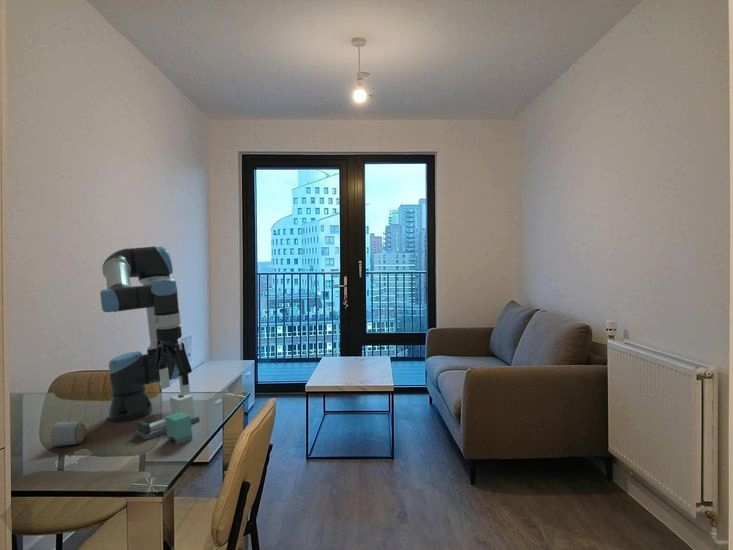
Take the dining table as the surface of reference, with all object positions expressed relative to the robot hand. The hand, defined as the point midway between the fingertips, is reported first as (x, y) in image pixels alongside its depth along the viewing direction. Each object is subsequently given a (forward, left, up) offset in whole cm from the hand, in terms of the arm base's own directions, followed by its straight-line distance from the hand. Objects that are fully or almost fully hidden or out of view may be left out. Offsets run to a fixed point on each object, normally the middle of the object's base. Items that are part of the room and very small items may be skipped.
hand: (175, 391), depth 159 cm
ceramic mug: (-31, -23, -17) cm, 42 cm away
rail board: (-14, +3, -16) cm, 22 cm away
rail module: (0, 0, -16) cm, 16 cm away
